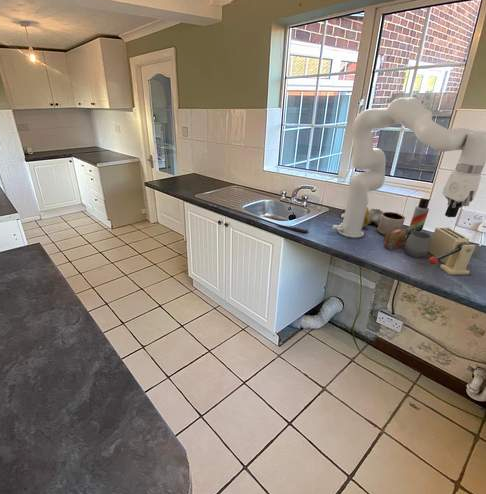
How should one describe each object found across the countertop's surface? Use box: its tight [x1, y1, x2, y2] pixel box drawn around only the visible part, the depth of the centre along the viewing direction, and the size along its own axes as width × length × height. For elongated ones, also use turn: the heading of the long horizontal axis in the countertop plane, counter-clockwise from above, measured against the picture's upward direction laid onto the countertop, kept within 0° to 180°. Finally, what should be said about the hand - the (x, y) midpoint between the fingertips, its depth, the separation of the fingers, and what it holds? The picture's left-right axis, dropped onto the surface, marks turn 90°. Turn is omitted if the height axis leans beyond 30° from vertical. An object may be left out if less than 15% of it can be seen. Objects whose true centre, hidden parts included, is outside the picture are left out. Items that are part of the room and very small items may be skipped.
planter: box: [377, 211, 406, 236], centre depth 159 cm, size 11×11×10 cm
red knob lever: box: [428, 242, 470, 265], centre depth 123 cm, size 15×3×3 cm, turn 90°
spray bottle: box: [407, 197, 431, 237], centre depth 153 cm, size 6×6×20 cm
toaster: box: [427, 227, 470, 265], centre depth 134 cm, size 6×12×12 cm, turn 1°
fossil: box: [368, 208, 384, 226], centre depth 174 cm, size 18×11×15 cm
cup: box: [404, 231, 432, 258], centre depth 137 cm, size 10×9×10 cm
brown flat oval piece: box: [383, 228, 409, 251], centre depth 145 cm, size 15×3×8 cm, turn 117°
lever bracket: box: [439, 240, 477, 275], centre depth 124 cm, size 8×6×13 cm
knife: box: [276, 225, 308, 234], centre depth 165 cm, size 17×1×3 cm
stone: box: [362, 206, 370, 228], centre depth 165 cm, size 13×10×10 cm
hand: (450, 216), depth 117 cm, fingers closed
